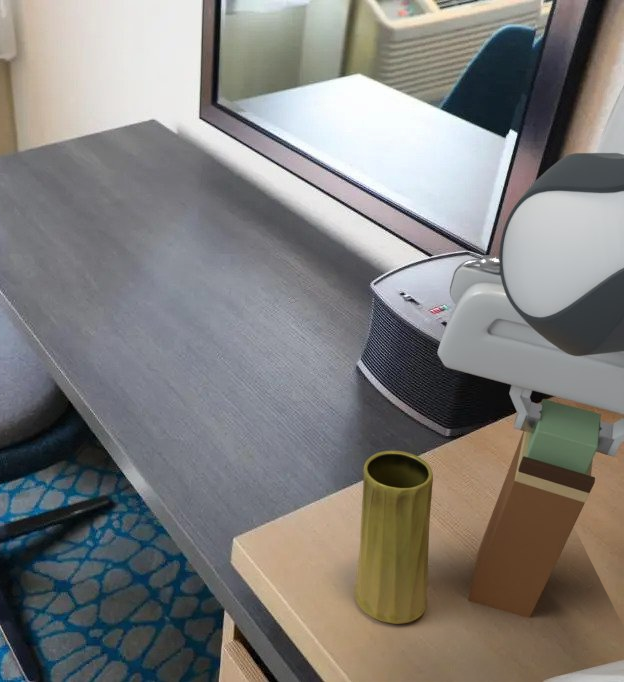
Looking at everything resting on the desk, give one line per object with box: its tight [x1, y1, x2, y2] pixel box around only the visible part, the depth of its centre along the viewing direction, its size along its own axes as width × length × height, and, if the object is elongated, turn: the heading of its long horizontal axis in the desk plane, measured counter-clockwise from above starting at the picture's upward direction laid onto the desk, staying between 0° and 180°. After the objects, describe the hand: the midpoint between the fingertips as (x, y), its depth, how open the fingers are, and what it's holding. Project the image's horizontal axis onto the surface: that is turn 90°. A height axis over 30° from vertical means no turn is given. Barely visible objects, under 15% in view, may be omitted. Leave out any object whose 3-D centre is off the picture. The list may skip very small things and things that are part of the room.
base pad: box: [467, 431, 596, 619], centre depth 65 cm, size 7×5×18 cm
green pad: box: [526, 398, 601, 474], centre depth 59 cm, size 4×4×3 cm
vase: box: [353, 450, 434, 625], centre depth 66 cm, size 6×6×14 cm
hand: (563, 437), depth 59 cm, fingers closed on green pad, 4 cm apart
